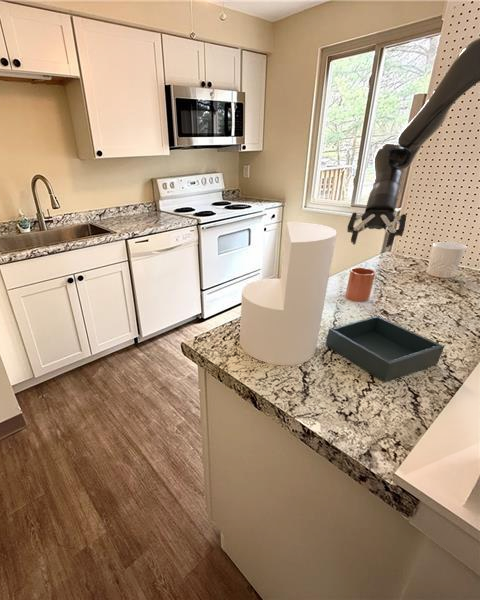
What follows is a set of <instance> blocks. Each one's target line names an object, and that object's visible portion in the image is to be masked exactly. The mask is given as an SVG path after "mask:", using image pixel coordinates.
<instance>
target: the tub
mask: <svg viewBox="0 0 480 600" xmlns="http://www.w3.org/2000/svg"><path fill="white" fill-rule="evenodd" d="M325 346H326V347H327V348H329V349H331V350H332V351H333V352H335V353H336V354H338V355H340V356H342V357H343V358H345V359H346V360H348V361H349V362H350V363H353V364H354V365H356V366H357V367H359V368H360V369H362V370H364V371H365V372H367V373H368V374H370V375H372V376H373V377H374V378H376V379H378V380H379V381H381V382H382V383H387V382H390V381H393V380H396V379H399V378H402V377H405V376H408V375H410V374H413V373H416V372H420V371H422V370H425V369H429V368H431V367H434V366H437V365H439V361H440V359H441V357H442V353H443V351H444V348H445V345H442V344H441V343H438V342H436V341H434V340H432V339H429V338H427V337H425V336H423V335H421V334H419V333H416V332H414V331H412V330H409V329H407V328H405V327H404V326H401V325H399V324H396V323H394V322H391V321H390V320H387V319H385V318H383V317H381V316H379V315H374V316H371V317H368V318H364V319H360V320H357V321H352V322H350V323H346V324H342V325H337V326H334V327H331V328H329V329H328V332H327V337H326V343H325Z"/></svg>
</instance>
